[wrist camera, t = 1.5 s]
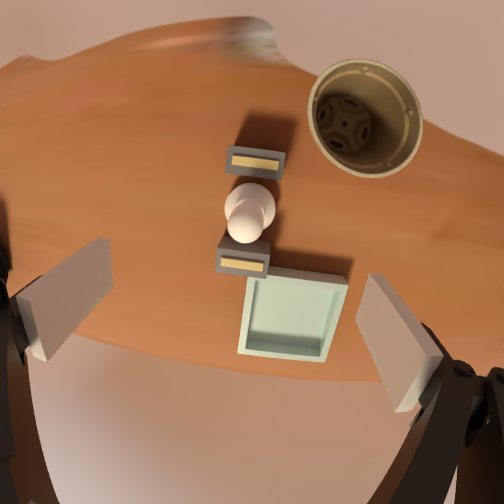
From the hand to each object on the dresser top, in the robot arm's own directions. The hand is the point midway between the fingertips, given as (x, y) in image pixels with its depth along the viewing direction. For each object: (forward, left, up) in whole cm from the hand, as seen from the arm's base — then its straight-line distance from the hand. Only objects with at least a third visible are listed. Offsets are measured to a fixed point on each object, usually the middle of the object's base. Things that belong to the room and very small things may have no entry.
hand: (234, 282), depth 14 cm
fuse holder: (0, 0, -18) cm, 18 cm away
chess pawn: (0, 0, -18) cm, 18 cm away
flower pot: (-8, -10, -18) cm, 22 cm away
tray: (-6, +11, -18) cm, 22 cm away
